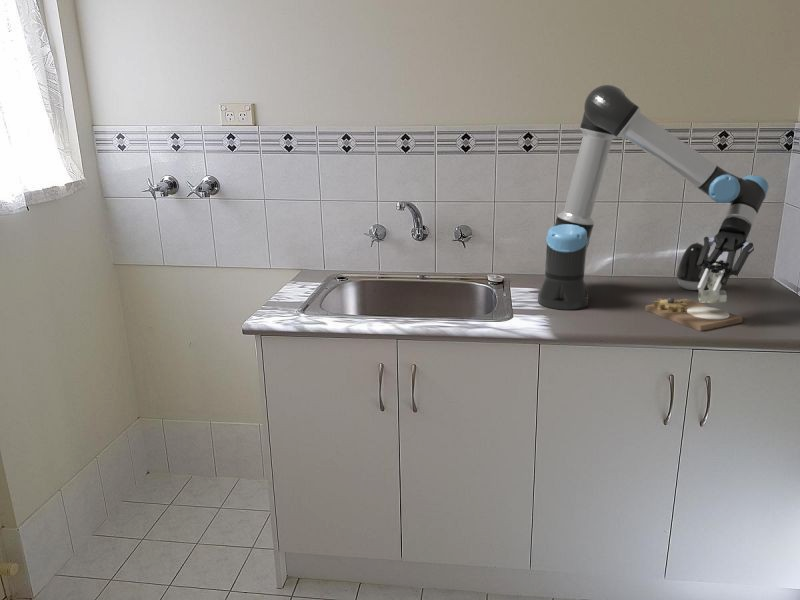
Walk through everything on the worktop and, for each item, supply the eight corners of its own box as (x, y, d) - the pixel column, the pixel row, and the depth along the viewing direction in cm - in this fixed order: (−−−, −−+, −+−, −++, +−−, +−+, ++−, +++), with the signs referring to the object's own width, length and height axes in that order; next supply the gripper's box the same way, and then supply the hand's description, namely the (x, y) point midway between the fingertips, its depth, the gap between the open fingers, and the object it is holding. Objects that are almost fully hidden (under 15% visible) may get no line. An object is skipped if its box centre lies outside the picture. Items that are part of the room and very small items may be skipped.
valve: (727, 307, 178) (732, 266, 173) (702, 307, 179) (706, 267, 175) (720, 298, 184) (725, 259, 179) (696, 299, 185) (700, 259, 181)
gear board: (645, 310, 190) (646, 296, 189) (684, 303, 196) (686, 290, 195) (700, 331, 172) (702, 316, 171) (741, 322, 179) (744, 308, 177)
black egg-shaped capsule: (708, 285, 214) (714, 241, 209) (708, 294, 205) (714, 247, 200) (675, 282, 218) (681, 238, 214) (674, 290, 209) (679, 245, 205)
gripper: (770, 235, 180) (740, 304, 174) (710, 228, 191) (680, 292, 185) (767, 219, 175) (736, 290, 169) (705, 212, 186) (674, 278, 180)
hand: (707, 291), depth 177 cm, fingers closed on valve, 3 cm apart
